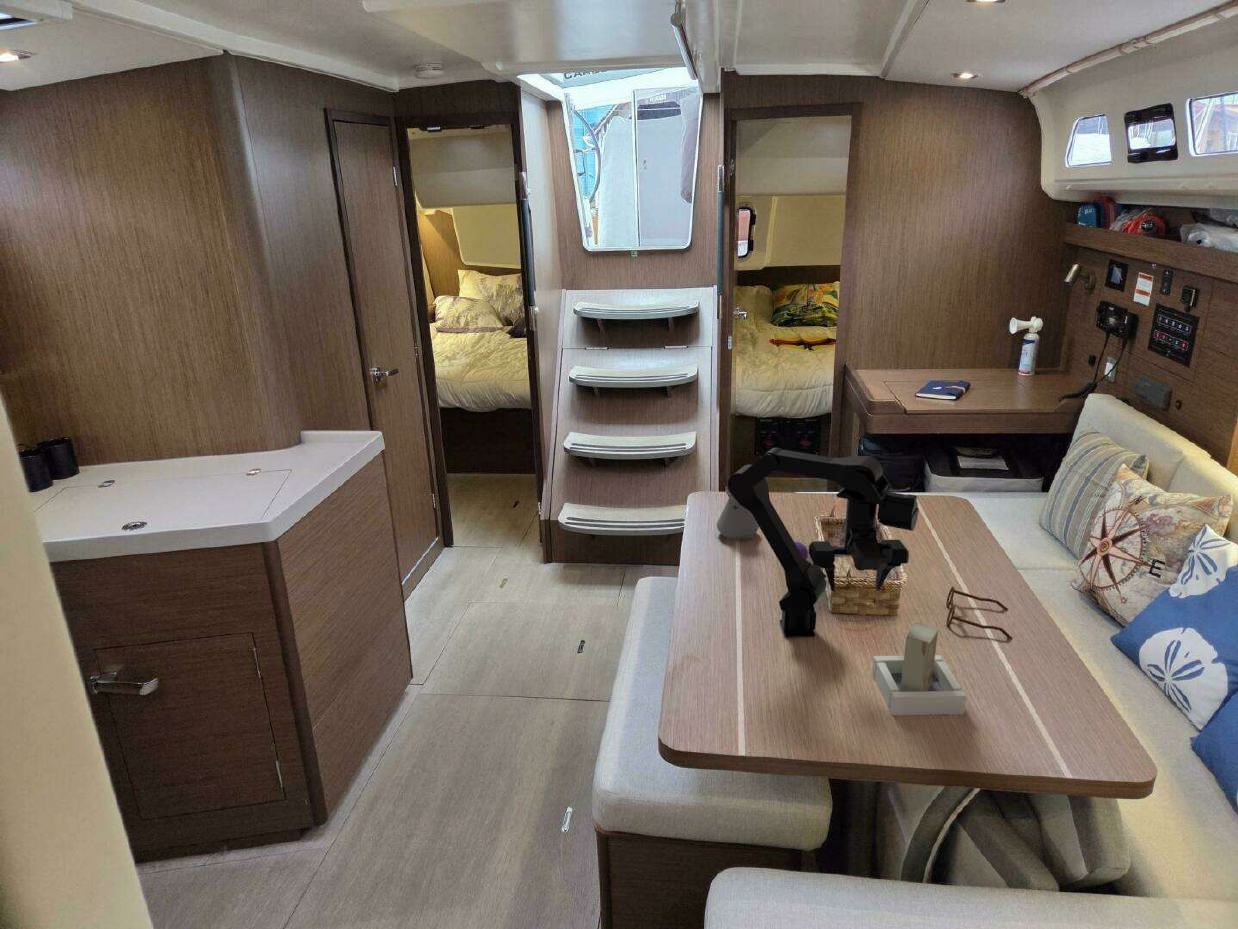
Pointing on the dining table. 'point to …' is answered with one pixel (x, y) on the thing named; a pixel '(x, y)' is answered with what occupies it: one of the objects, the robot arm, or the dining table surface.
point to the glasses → (967, 620)
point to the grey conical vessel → (736, 521)
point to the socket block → (936, 700)
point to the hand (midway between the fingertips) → (855, 589)
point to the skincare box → (919, 658)
